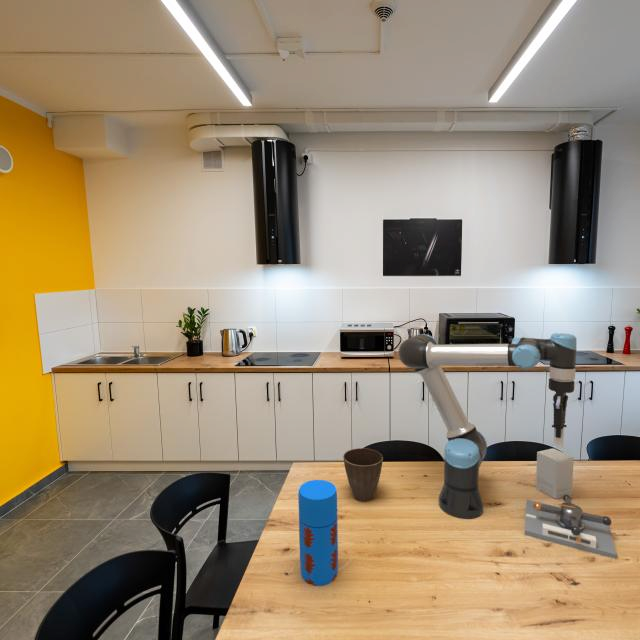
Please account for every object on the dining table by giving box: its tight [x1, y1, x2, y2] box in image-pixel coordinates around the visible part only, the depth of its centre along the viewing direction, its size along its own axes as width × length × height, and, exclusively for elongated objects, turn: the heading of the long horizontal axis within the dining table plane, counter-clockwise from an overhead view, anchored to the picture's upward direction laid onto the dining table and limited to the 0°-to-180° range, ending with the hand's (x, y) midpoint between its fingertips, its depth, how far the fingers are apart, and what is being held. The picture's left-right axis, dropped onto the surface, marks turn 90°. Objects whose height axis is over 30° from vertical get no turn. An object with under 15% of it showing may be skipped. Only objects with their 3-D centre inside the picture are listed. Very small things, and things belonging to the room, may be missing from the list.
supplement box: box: [535, 448, 575, 500], centre depth 152 cm, size 9×9×15 cm
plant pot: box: [342, 447, 384, 502], centre depth 151 cm, size 15×15×16 cm
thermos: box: [297, 479, 339, 587], centre depth 112 cm, size 11×11×25 cm
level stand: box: [524, 499, 618, 560], centre depth 130 cm, size 24×21×4 cm
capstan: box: [533, 495, 613, 536], centre depth 129 cm, size 22×22×6 cm
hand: (558, 445), depth 137 cm, fingers closed
